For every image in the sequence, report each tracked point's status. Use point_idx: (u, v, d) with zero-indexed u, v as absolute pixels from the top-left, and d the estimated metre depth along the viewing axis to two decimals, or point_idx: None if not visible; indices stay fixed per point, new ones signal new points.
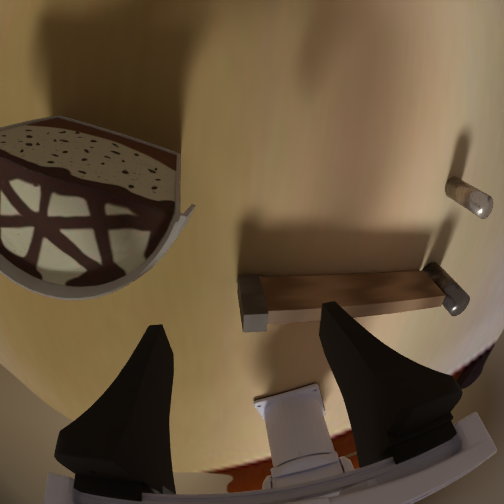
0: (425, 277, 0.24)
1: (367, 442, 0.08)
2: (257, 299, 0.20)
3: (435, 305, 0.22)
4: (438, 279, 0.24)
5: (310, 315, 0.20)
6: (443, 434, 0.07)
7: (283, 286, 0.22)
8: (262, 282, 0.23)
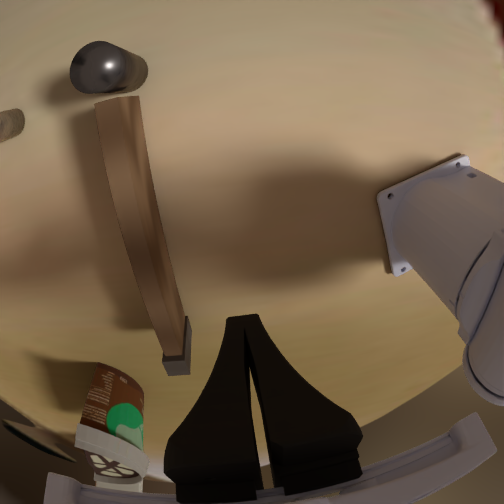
0: None
1: (271, 465, 0.08)
2: None
3: (116, 114, 0.11)
4: None
5: (161, 322, 0.17)
6: (345, 472, 0.06)
7: None
8: None
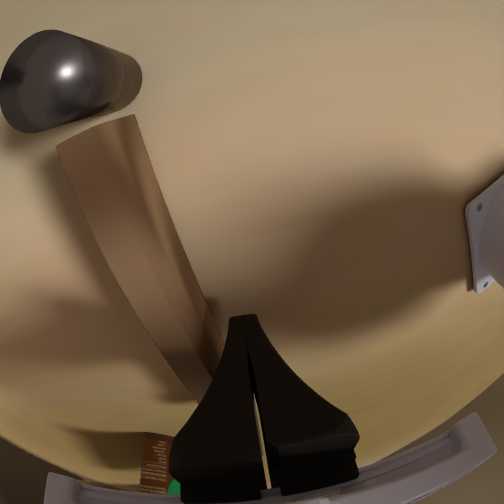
0: None
1: (268, 465, 0.08)
2: None
3: (96, 158, 0.06)
4: None
5: None
6: (342, 473, 0.06)
7: None
8: None
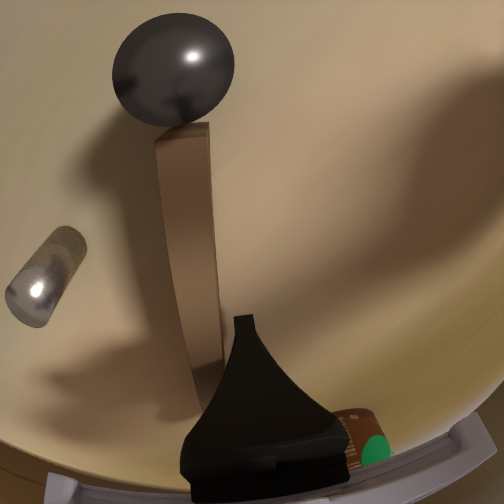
0: None
1: None
2: None
3: (199, 170, 0.07)
4: None
5: None
6: (332, 476, 0.06)
7: None
8: None
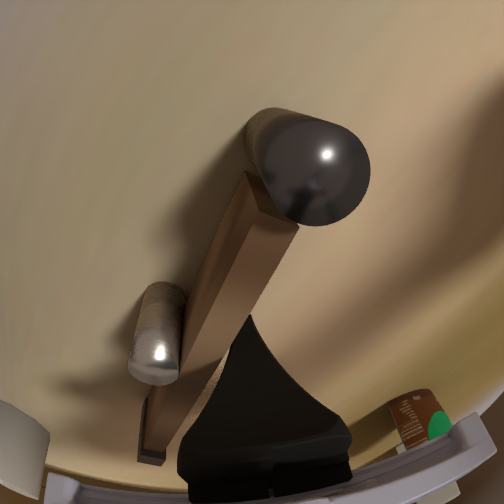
0: (240, 193, 0.10)
1: None
2: (140, 437, 0.15)
3: (279, 249, 0.08)
4: None
5: (163, 433, 0.13)
6: (335, 475, 0.06)
7: (151, 402, 0.16)
8: (147, 405, 0.17)
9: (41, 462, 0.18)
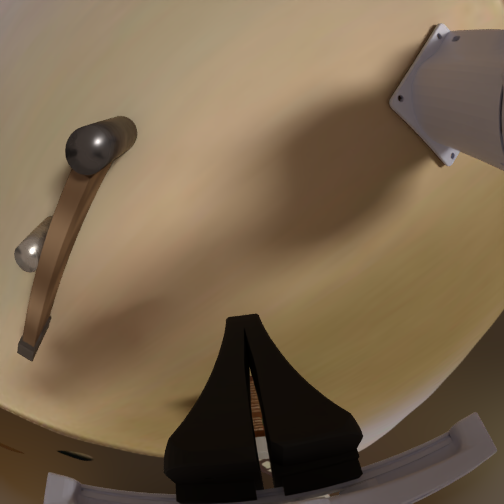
0: None
1: (271, 465, 0.08)
2: None
3: (81, 189, 0.14)
4: None
5: (32, 322, 0.17)
6: (345, 472, 0.06)
7: None
8: None
9: None
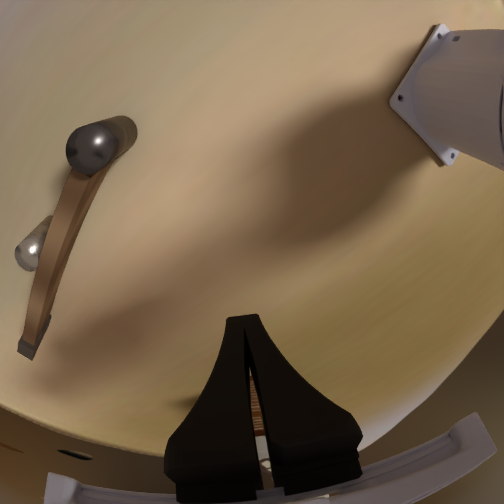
0: None
1: (271, 465, 0.08)
2: None
3: (81, 188, 0.14)
4: None
5: (32, 321, 0.17)
6: (345, 473, 0.06)
7: None
8: None
9: None
